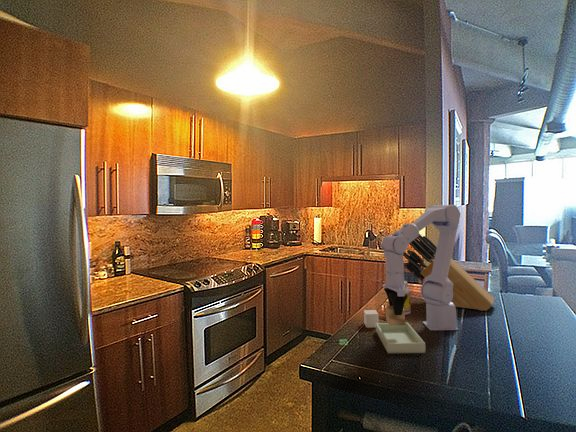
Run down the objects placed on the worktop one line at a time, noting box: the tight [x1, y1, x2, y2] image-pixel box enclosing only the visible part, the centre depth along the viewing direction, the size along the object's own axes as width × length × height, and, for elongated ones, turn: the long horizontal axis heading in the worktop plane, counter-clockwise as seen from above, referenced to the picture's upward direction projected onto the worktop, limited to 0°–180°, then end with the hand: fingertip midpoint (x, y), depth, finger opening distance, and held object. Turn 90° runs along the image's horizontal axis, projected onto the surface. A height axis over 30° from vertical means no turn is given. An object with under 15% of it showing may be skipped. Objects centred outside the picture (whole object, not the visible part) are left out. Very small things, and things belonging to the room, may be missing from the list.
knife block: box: [403, 233, 495, 312], centre depth 145 cm, size 11×35×31 cm, turn 54°
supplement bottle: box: [403, 280, 412, 316], centre depth 136 cm, size 7×7×13 cm
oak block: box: [385, 305, 406, 326], centre depth 111 cm, size 5×5×5 cm
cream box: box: [363, 309, 380, 328], centre depth 124 cm, size 4×4×5 cm
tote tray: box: [375, 322, 427, 355], centre depth 109 cm, size 11×17×3 cm, turn 177°
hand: (395, 311), depth 111 cm, fingers closed on oak block, 5 cm apart
